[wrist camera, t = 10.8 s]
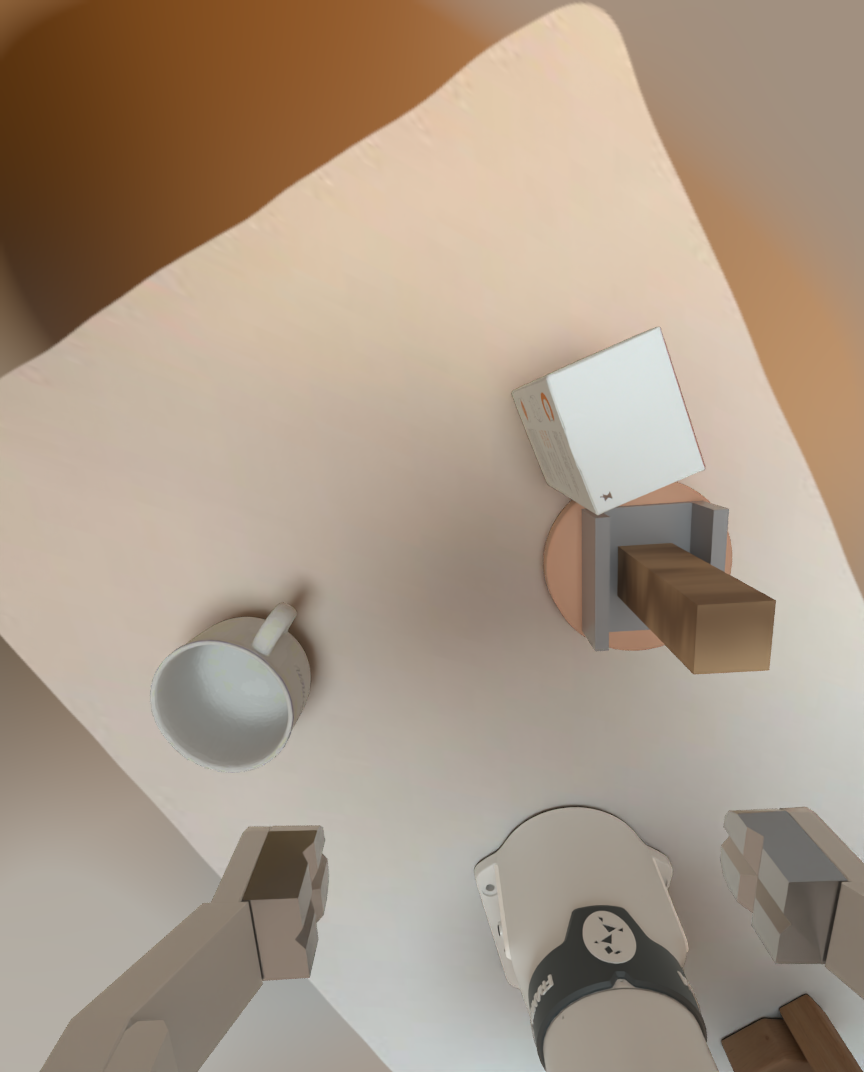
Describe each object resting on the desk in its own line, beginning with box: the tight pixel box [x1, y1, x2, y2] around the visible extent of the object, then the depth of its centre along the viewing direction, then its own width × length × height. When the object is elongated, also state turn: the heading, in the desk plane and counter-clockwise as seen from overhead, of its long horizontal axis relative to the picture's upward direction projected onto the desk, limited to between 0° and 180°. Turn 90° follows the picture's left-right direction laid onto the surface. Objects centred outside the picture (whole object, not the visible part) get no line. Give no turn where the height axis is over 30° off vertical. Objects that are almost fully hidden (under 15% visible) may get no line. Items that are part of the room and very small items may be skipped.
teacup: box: [150, 603, 311, 773], centre depth 40 cm, size 14×11×8 cm
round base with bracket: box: [543, 482, 732, 651], centre depth 38 cm, size 14×14×6 cm
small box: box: [511, 327, 705, 515], centre depth 32 cm, size 8×6×13 cm
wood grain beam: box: [617, 543, 776, 674], centre depth 32 cm, size 4×4×12 cm
